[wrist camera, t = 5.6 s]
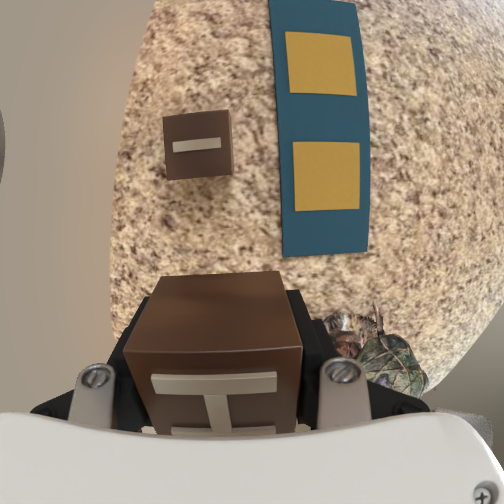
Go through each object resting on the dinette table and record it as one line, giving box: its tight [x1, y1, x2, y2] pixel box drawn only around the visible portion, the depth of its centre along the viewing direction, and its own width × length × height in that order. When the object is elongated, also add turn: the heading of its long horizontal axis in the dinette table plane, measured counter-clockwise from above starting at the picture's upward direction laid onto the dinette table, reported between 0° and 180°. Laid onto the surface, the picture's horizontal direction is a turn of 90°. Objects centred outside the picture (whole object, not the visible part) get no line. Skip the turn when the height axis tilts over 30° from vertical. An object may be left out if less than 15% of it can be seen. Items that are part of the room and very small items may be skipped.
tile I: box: [163, 110, 234, 181], centre depth 20 cm, size 4×4×5 cm
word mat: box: [268, 0, 370, 257], centre depth 22 cm, size 8×24×1 cm, turn 3°
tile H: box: [123, 271, 303, 437], centre depth 9 cm, size 4×4×5 cm
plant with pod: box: [323, 301, 436, 399], centre depth 20 cm, size 8×11×20 cm
